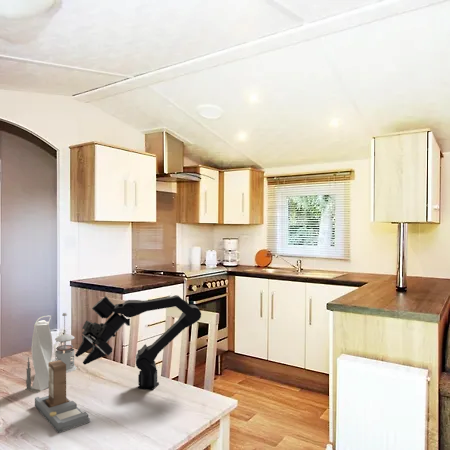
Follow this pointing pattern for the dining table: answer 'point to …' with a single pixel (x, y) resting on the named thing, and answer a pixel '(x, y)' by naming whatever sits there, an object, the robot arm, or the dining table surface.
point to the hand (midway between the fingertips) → (79, 359)
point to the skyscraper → (40, 356)
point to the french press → (67, 348)
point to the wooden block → (57, 383)
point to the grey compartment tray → (62, 414)
